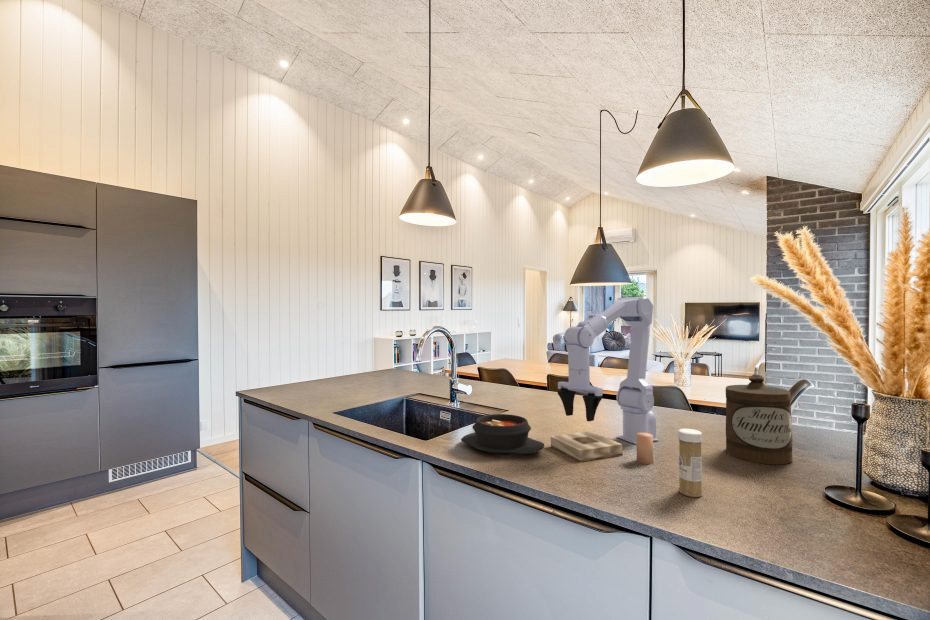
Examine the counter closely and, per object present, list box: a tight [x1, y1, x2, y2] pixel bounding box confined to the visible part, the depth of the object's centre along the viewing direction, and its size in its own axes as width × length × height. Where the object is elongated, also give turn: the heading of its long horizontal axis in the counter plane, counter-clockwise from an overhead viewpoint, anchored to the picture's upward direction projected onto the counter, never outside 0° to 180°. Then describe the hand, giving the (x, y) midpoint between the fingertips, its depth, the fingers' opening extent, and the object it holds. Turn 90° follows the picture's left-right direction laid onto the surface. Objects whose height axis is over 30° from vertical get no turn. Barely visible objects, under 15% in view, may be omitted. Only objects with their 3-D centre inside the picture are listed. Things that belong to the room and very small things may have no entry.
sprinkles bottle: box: [677, 428, 703, 498], centre depth 90 cm, size 5×5×14 cm
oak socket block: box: [550, 431, 624, 463], centre depth 118 cm, size 14×14×3 cm
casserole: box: [460, 413, 545, 455], centre depth 121 cm, size 25×19×8 cm
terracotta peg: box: [635, 433, 654, 465], centre depth 109 cm, size 4×4×7 cm
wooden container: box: [725, 373, 793, 465], centre depth 114 cm, size 15×15×22 cm
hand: (579, 417), depth 116 cm, fingers open, 7 cm apart
